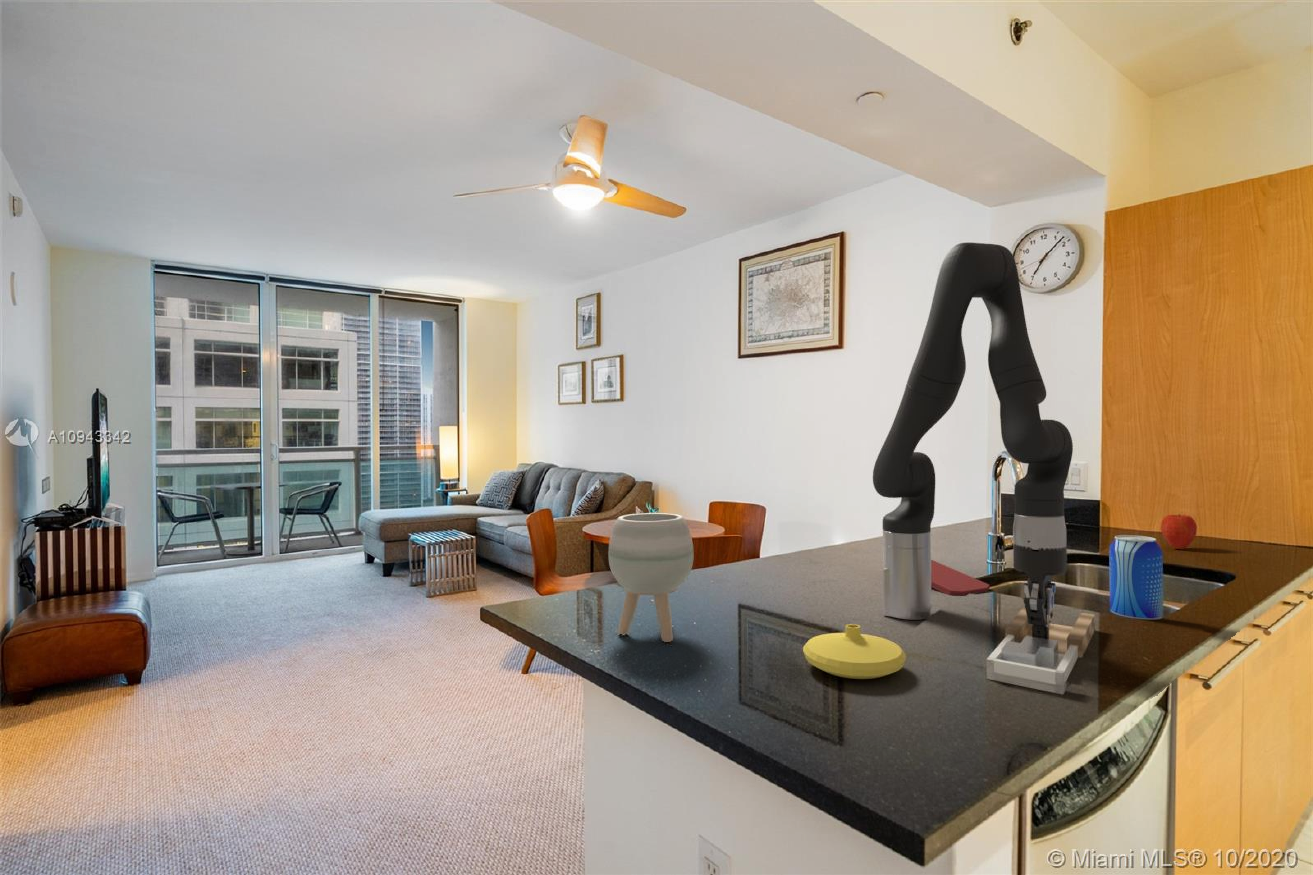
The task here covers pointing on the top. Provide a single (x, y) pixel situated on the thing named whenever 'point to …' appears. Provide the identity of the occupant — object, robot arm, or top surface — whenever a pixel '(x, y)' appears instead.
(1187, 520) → the apple
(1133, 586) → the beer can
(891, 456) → the robot arm
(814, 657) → the vase
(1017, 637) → the slot board
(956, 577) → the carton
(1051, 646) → the chip
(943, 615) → the top surface
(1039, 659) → the chip
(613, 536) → the planter
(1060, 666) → the tray
